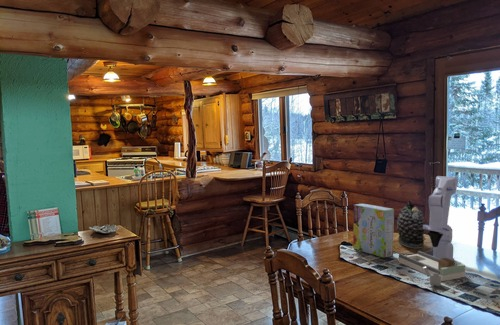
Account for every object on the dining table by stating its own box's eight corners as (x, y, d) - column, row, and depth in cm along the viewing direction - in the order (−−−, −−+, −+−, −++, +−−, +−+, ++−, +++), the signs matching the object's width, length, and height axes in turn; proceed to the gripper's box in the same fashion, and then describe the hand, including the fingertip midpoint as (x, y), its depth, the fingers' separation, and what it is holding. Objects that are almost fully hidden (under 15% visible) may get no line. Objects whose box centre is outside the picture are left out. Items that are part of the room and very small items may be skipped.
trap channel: (419, 258, 209) (419, 248, 209) (465, 276, 183) (465, 265, 182) (398, 261, 204) (398, 251, 204) (441, 281, 178) (442, 269, 178)
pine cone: (431, 249, 223) (432, 205, 220) (404, 250, 223) (405, 206, 221) (416, 239, 244) (417, 199, 241) (391, 239, 244) (392, 199, 241)
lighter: (439, 284, 175) (440, 266, 174) (440, 285, 173) (441, 268, 172) (422, 283, 176) (422, 265, 176) (423, 284, 175) (423, 267, 174)
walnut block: (446, 268, 187) (446, 257, 187) (455, 271, 183) (455, 261, 182) (438, 269, 186) (438, 259, 185) (446, 273, 181) (447, 262, 180)
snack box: (394, 255, 214) (395, 208, 212) (384, 258, 209) (384, 210, 207) (362, 246, 232) (362, 202, 229) (352, 248, 227) (352, 204, 225)
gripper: (418, 216, 199) (417, 243, 200) (441, 223, 185) (440, 251, 186) (429, 215, 201) (428, 242, 202) (453, 221, 188) (452, 250, 189)
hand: (435, 246), depth 195 cm, fingers closed
